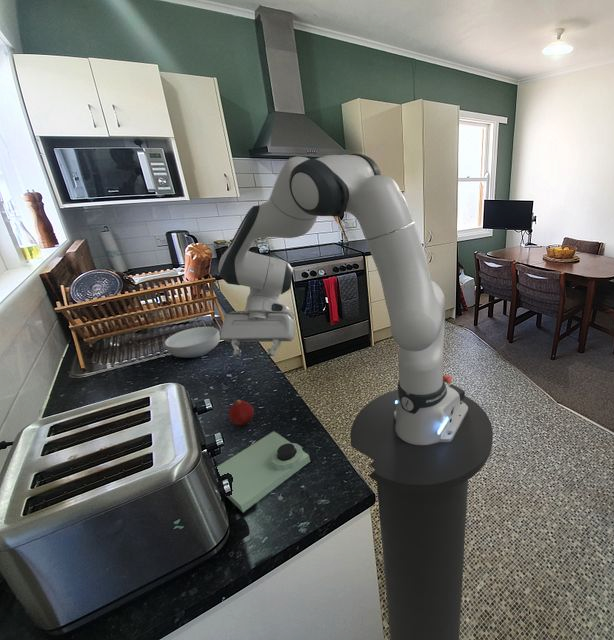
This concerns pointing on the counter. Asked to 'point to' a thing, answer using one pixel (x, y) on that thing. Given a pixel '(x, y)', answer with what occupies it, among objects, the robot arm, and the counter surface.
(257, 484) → the scale
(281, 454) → the button
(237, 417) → the onion
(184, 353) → the cereal bowl
